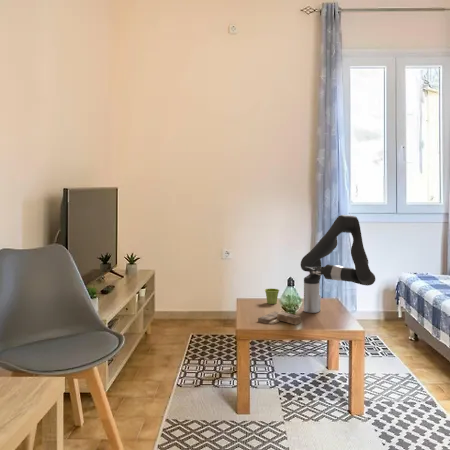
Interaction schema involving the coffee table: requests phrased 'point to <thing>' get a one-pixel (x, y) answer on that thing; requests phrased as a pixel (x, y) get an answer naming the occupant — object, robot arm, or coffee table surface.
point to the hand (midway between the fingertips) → (304, 268)
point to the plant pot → (271, 295)
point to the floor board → (269, 318)
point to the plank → (288, 318)
